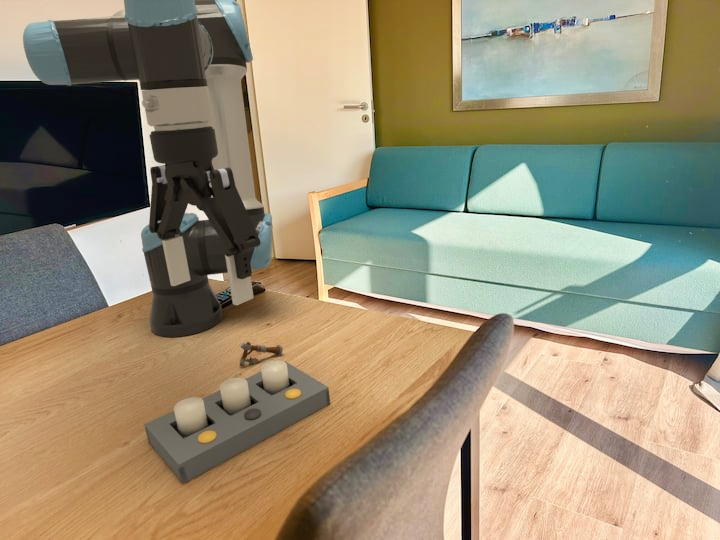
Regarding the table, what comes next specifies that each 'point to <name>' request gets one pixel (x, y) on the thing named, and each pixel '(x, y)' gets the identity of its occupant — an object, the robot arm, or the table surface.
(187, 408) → the button
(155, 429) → the console
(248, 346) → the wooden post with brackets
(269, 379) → the button
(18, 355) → the table surface
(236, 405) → the button
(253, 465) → the table surface
